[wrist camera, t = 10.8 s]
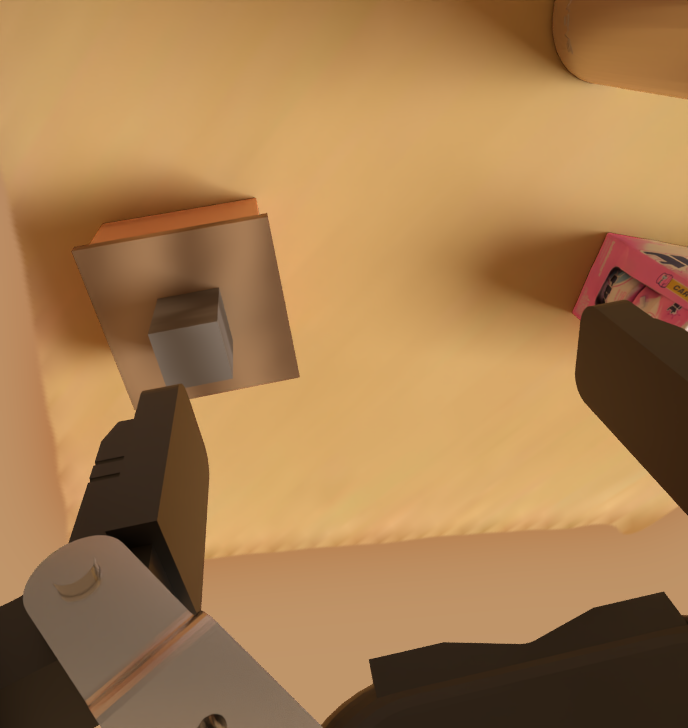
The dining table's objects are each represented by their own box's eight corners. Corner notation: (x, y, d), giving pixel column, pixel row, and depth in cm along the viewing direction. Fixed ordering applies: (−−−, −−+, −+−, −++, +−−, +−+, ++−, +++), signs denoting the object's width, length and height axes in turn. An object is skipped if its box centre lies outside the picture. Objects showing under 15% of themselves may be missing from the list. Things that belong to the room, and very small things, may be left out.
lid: (267, 213, 36) (272, 243, 31) (298, 371, 42) (307, 417, 38) (74, 247, 35) (49, 282, 30) (136, 403, 42) (123, 454, 37)
